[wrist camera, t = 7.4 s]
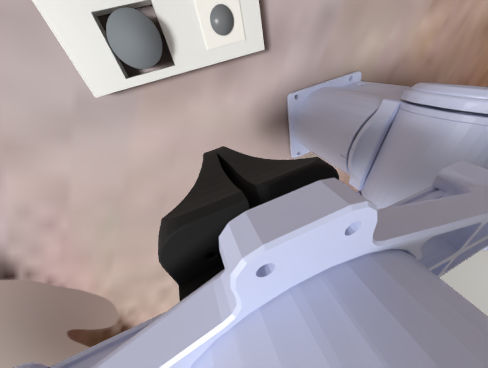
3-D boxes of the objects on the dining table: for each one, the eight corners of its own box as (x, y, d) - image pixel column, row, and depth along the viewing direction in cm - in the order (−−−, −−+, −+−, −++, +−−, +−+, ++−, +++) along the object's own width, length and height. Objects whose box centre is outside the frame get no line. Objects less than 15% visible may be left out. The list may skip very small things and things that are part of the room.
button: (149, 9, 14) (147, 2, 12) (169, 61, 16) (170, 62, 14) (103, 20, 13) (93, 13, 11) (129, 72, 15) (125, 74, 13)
